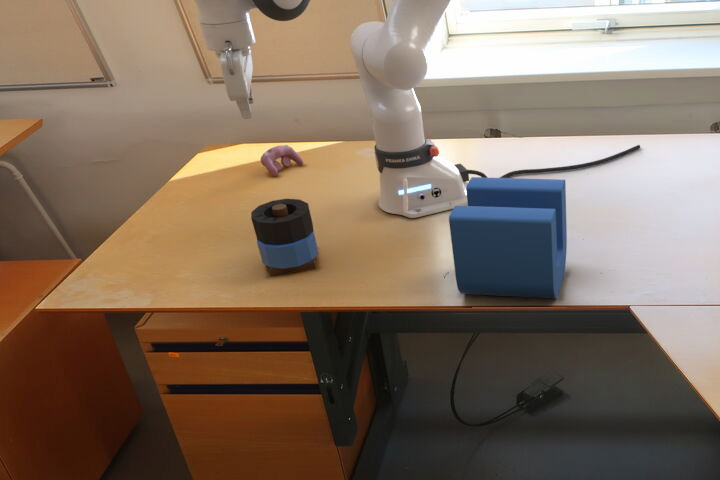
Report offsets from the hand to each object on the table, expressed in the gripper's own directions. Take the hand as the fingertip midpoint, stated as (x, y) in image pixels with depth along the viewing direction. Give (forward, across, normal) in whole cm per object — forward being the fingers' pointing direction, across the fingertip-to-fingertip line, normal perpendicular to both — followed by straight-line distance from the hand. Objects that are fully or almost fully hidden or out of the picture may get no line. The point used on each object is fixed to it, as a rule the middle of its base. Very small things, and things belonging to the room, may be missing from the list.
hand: (248, 110), depth 152 cm
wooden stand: (+29, -9, -2) cm, 31 cm away
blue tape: (+28, -9, -2) cm, 29 cm away
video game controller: (+29, +44, 0) cm, 53 cm away
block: (+29, -33, -44) cm, 62 cm away
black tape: (+23, -8, -2) cm, 24 cm away
